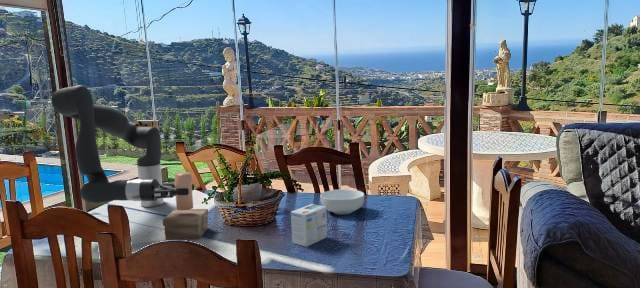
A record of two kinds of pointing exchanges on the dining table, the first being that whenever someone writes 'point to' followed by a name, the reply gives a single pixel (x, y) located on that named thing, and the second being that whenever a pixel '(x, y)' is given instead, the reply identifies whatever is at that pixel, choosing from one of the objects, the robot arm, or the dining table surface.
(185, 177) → the tan cylinder
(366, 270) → the dining table surface
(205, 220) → the tan square block
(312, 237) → the light bulb box
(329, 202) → the cereal bowl
